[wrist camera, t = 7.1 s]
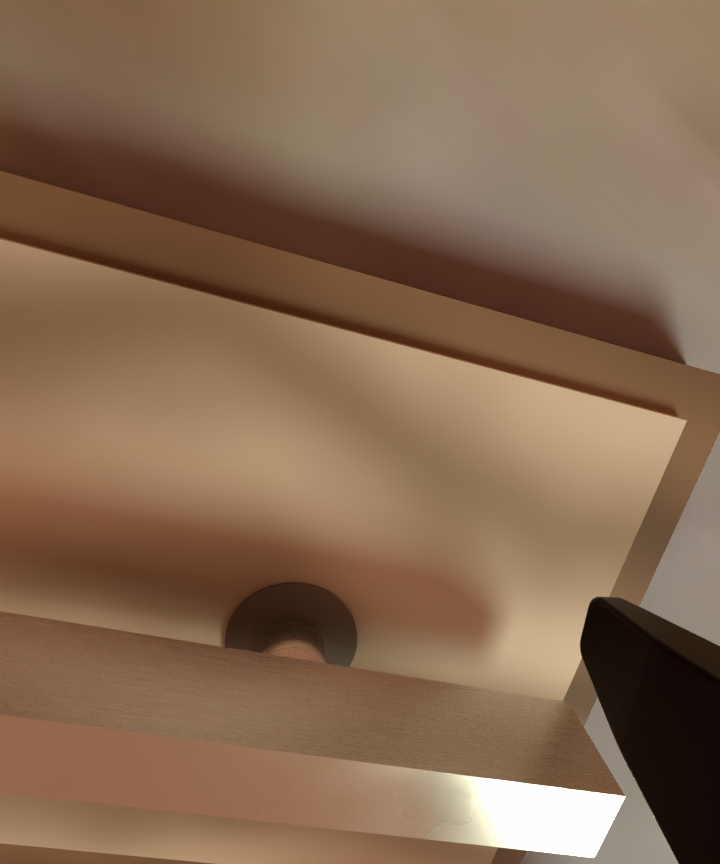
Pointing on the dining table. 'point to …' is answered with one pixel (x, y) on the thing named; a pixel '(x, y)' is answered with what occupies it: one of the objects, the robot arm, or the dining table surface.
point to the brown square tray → (311, 483)
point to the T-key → (292, 739)
